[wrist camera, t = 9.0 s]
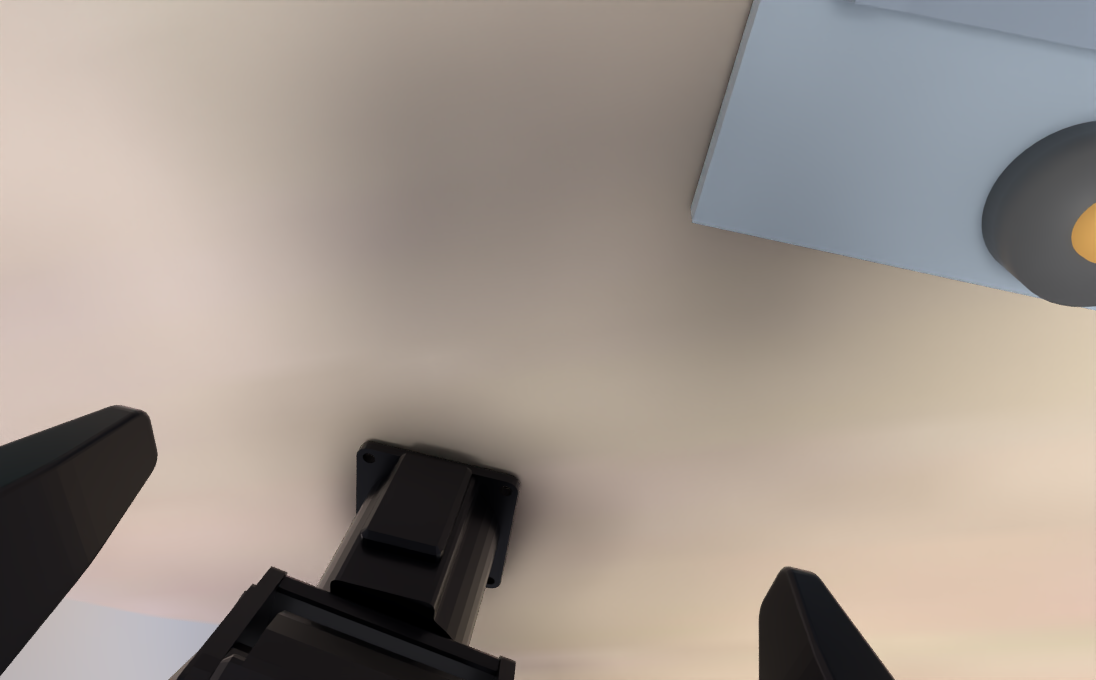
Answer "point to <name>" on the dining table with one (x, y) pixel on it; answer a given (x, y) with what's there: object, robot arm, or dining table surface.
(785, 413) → the dining table surface
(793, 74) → the chassis
